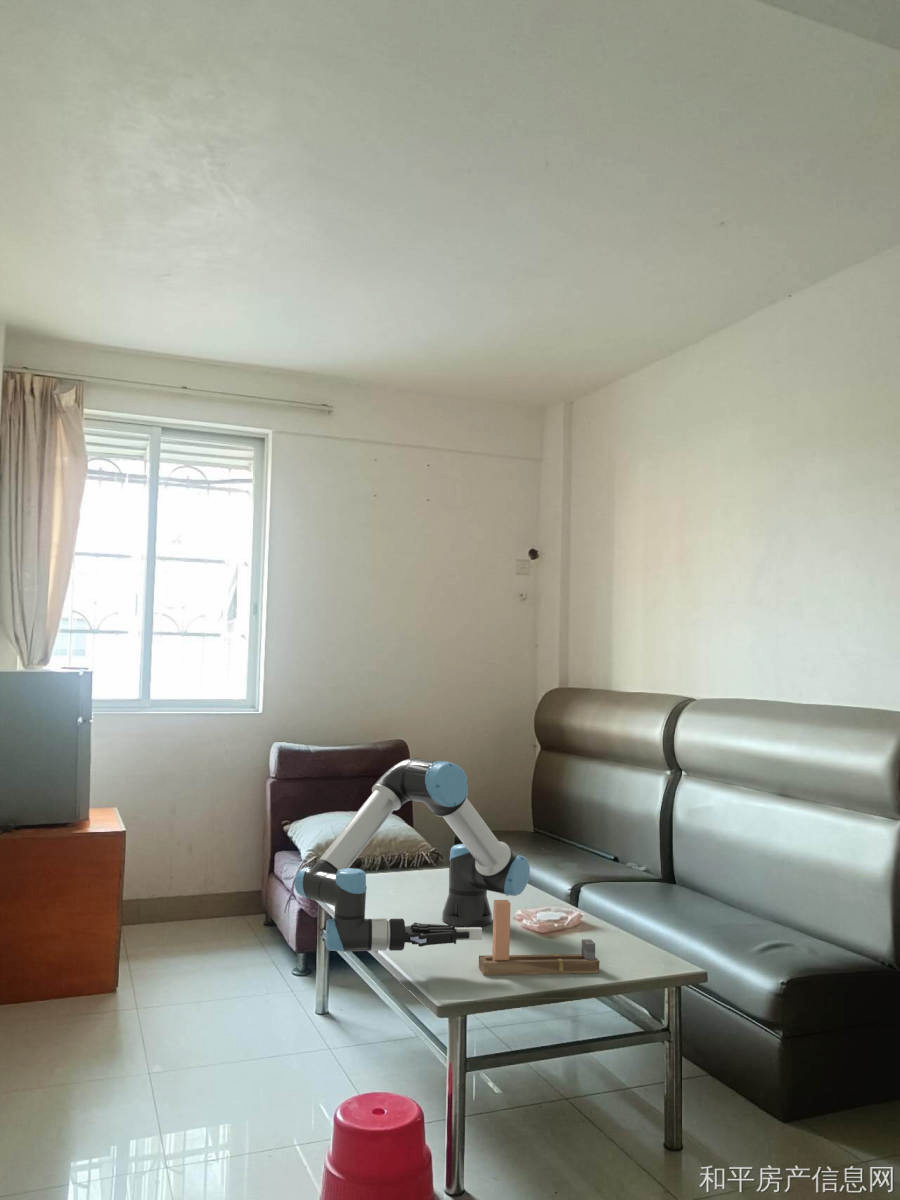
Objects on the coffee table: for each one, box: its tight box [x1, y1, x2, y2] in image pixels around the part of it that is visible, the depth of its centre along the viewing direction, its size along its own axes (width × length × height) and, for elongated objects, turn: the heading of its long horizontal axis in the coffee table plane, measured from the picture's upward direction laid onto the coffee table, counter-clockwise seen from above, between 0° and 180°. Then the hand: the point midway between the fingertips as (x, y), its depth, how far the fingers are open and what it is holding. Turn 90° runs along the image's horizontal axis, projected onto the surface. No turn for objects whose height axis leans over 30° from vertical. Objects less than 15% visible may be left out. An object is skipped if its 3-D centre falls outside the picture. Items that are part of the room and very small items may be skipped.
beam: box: [478, 938, 600, 976], centre depth 236 cm, size 6×30×7 cm, turn 99°
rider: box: [491, 899, 511, 961], centre depth 235 cm, size 4×4×16 cm
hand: (481, 933), depth 234 cm, fingers closed
